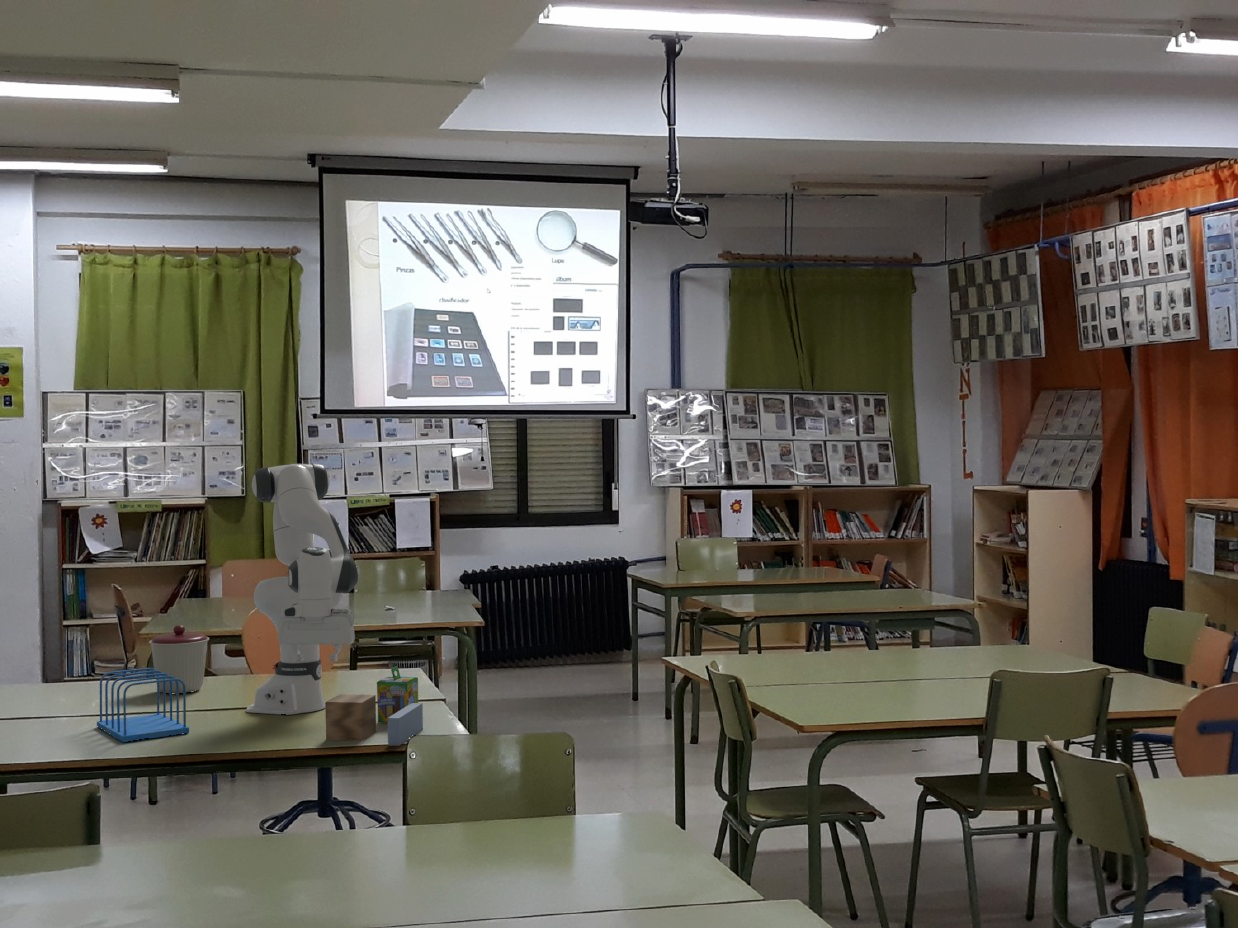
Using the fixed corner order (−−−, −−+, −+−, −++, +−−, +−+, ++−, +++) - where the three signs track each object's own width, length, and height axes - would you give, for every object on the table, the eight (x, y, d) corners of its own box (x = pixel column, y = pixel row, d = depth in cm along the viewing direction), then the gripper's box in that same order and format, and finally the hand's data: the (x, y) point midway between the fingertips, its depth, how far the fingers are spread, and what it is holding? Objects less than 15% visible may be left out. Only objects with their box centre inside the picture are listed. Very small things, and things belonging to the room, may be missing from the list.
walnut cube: (326, 740, 324) (325, 701, 324) (340, 731, 334) (339, 694, 334) (362, 740, 322) (362, 702, 322) (376, 732, 332) (375, 694, 332)
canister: (167, 685, 404) (166, 621, 404) (220, 686, 402) (219, 621, 401) (138, 696, 386) (137, 628, 386) (193, 697, 384) (192, 629, 383)
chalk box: (408, 724, 341) (407, 670, 341) (376, 723, 343) (375, 669, 343) (420, 717, 350) (419, 664, 350) (389, 716, 352) (388, 663, 352)
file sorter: (189, 734, 333) (188, 677, 333) (122, 744, 323) (121, 685, 323) (160, 719, 353) (159, 665, 353) (96, 728, 343) (95, 672, 343)
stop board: (388, 745, 317) (387, 717, 316) (412, 728, 335) (411, 702, 335) (399, 745, 316) (398, 718, 316) (422, 728, 335) (422, 703, 335)
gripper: (357, 607, 331) (358, 659, 331) (284, 607, 334) (285, 658, 334) (349, 610, 325) (350, 663, 325) (274, 610, 327) (275, 662, 327)
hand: (316, 661), depth 329 cm, fingers open, 8 cm apart
